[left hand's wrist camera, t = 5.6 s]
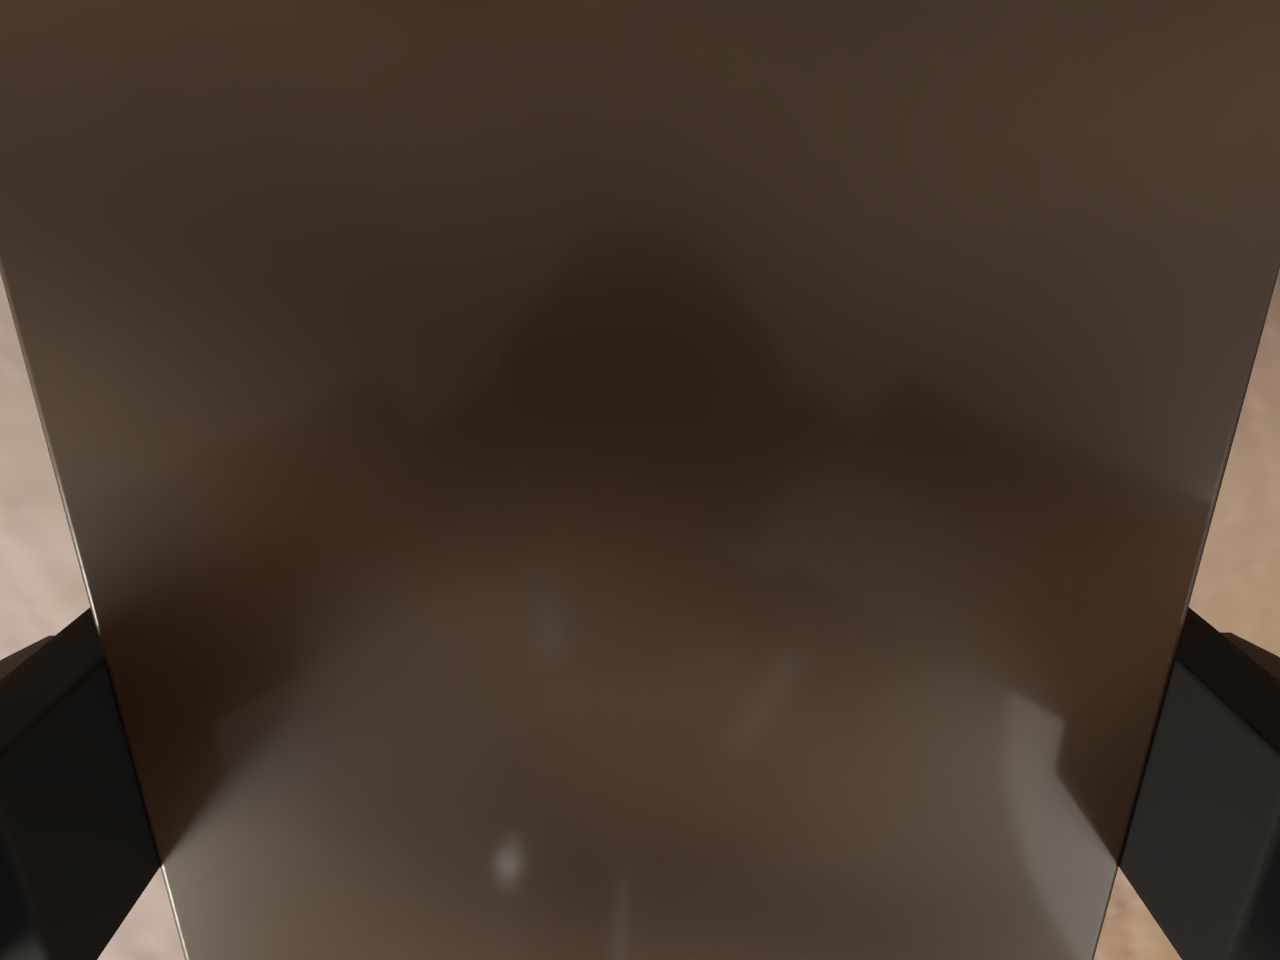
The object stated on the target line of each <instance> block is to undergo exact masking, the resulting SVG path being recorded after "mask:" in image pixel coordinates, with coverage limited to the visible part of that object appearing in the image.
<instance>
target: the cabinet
mask: <svg viewBox="0 0 1280 960" xmlns="http://www.w3.org/2000/svg"><path fill="white" fill-rule="evenodd" d="M1279 268H1280V0H0V272H1V276H2V279H3V283H4V287H5V290H6V294H7V298H8V302H9V305H10V309H11V313H12V317H13V320H14V324H15V328H16V331H17V335H18V339H19V343H20V346H21V350H22V354H23V357H24V361H25V365H26V369H27V372H28V376H29V380H30V383H31V387H32V391H33V395H34V398H35V402H36V406H37V410H38V413H39V417H40V421H41V424H42V428H43V432H44V436H45V439H46V443H47V447H48V450H49V454H50V458H51V462H52V465H53V469H54V473H55V477H56V480H57V484H58V488H59V491H60V495H61V499H62V503H63V506H64V510H65V514H66V517H67V521H68V525H69V529H70V532H71V536H72V540H73V544H74V547H75V551H76V555H77V558H78V562H79V566H80V570H81V573H82V577H83V581H84V584H85V588H86V592H87V596H88V599H89V603H90V607H91V611H92V614H93V618H94V622H95V625H96V629H97V633H98V637H99V640H100V644H101V648H102V651H103V655H104V659H105V663H106V666H107V670H108V674H109V678H110V681H111V685H112V689H113V692H114V696H115V700H116V704H117V707H118V711H119V715H120V718H121V722H122V726H123V730H124V733H125V737H126V741H127V744H128V748H129V752H130V756H131V759H132V763H133V767H134V771H135V774H136V778H137V782H138V785H139V789H140V793H141V797H142V800H143V804H144V808H145V811H146V815H147V819H148V823H149V826H150V830H151V834H152V838H153V841H154V845H155V849H156V852H157V856H158V860H159V864H160V867H161V871H162V875H163V878H164V882H165V886H166V890H167V893H168V897H169V901H170V905H171V908H172V912H173V916H174V919H175V923H176V927H177V931H178V934H179V938H180V942H181V945H182V949H183V953H184V957H185V960H1093V959H1094V955H1095V952H1096V948H1097V944H1098V941H1099V937H1100V933H1101V929H1102V926H1103V922H1104V918H1105V915H1106V911H1107V907H1108V903H1109V900H1110V896H1111V892H1112V889H1113V885H1114V881H1115V877H1116V874H1117V870H1118V866H1119V863H1120V859H1121V855H1122V851H1123V848H1124V844H1125V840H1126V837H1127V833H1128V829H1129V825H1130V822H1131V818H1132V814H1133V811H1134V807H1135V803H1136V799H1137V796H1138V792H1139V788H1140V785H1141V781H1142V777H1143V773H1144V770H1145V766H1146V762H1147V758H1148V755H1149V751H1150V747H1151V744H1152V740H1153V736H1154V732H1155V729H1156V725H1157V721H1158V718H1159V714H1160V710H1161V706H1162V703H1163V699H1164V695H1165V692H1166V688H1167V684H1168V680H1169V677H1170V673H1171V669H1172V666H1173V662H1174V658H1175V654H1176V651H1177V647H1178V643H1179V640H1180V636H1181V632H1182V628H1183V625H1184V621H1185V617H1186V614H1187V610H1188V606H1189V602H1190V599H1191V595H1192V591H1193V588H1194V584H1195V580H1196V576H1197V573H1198V569H1199V565H1200V561H1201V558H1202V554H1203V550H1204V547H1205V543H1206V539H1207V535H1208V532H1209V528H1210V524H1211V521H1212V517H1213V513H1214V509H1215V506H1216V502H1217V498H1218V495H1219V491H1220V487H1221V483H1222V480H1223V476H1224V472H1225V469H1226V465H1227V461H1228V457H1229V454H1230V450H1231V446H1232V443H1233V439H1234V435H1235V431H1236V428H1237V424H1238V420H1239V417H1240V413H1241V409H1242V405H1243V402H1244V398H1245V394H1246V391H1247V387H1248V383H1249V379H1250V376H1251V372H1252V368H1253V365H1254V361H1255V357H1256V353H1257V350H1258V346H1259V342H1260V338H1261V335H1262V331H1263V327H1264V324H1265V320H1266V316H1267V312H1268V309H1269V305H1270V301H1271V298H1272V294H1273V290H1274V286H1275V283H1276V279H1277V275H1278V272H1279Z"/></svg>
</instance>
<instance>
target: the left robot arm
mask: <svg viewBox="0 0 1280 960" xmlns="http://www.w3.org/2000/svg"><path fill="white" fill-rule="evenodd" d="M159 867H160V864H159V860H158V856H157V852H156V849H155V845H154V841H153V838H152V834H151V830H150V826H149V823H148V819H147V815H146V811H145V808H144V804H143V800H142V797H141V793H140V789H139V785H138V782H137V778H136V774H135V771H134V767H133V763H132V759H131V756H130V752H129V748H128V744H127V741H126V737H125V733H124V730H123V726H122V722H121V718H120V715H119V711H118V707H117V704H116V700H115V696H114V692H113V689H112V685H111V681H110V678H109V674H108V670H107V666H106V663H105V659H104V655H103V651H102V648H101V644H100V640H99V637H98V633H97V629H96V625H95V622H94V618H93V614H92V611H91V607H90V608H89V609H88V610H86V611H85V612H84V613H83V614H82V615H80V616H79V617H78V618H77V619H75V620H74V621H73V622H72V623H70V624H69V625H68V626H67V627H66V628H64V629H63V630H62V631H61V632H59V633H58V634H57V635H56V636H48V637H46V638H44V639H42V640H40V641H38V642H36V643H34V644H32V645H30V646H28V647H26V648H24V649H22V650H20V651H18V652H16V653H14V654H12V655H10V656H8V657H6V658H4V659H2V660H1V661H0V960H97V959H98V957H99V956H100V954H101V953H102V951H103V950H104V948H105V947H106V945H107V944H108V943H109V941H110V940H111V938H112V937H113V935H114V934H115V932H116V931H117V929H118V928H119V926H120V925H121V923H122V922H123V920H124V919H125V917H126V916H127V915H128V913H129V912H130V910H131V909H132V907H133V906H134V904H135V903H136V901H137V900H138V898H139V897H140V895H141V894H142V892H143V891H144V890H145V888H146V887H147V885H148V884H149V882H150V881H151V879H152V878H153V876H154V875H155V873H156V872H157V870H158V869H159ZM1119 867H1120V869H1121V870H1122V872H1123V873H1124V875H1125V876H1126V878H1127V879H1128V881H1129V882H1130V883H1131V885H1132V886H1133V888H1134V889H1135V891H1136V892H1137V894H1138V895H1139V897H1140V898H1141V900H1142V901H1143V903H1144V904H1145V906H1146V907H1147V909H1148V910H1149V911H1150V913H1151V914H1152V916H1153V917H1154V919H1155V920H1156V922H1157V923H1158V925H1159V926H1160V928H1161V929H1162V931H1163V932H1164V934H1165V935H1166V936H1167V938H1168V939H1169V941H1170V942H1171V944H1172V945H1173V947H1174V948H1175V950H1176V951H1177V953H1178V954H1179V956H1180V957H1181V959H1182V960H1280V658H1279V657H1278V656H1276V655H1274V654H1272V653H1270V652H1268V651H1266V650H1264V649H1262V648H1260V647H1258V646H1256V645H1254V644H1252V643H1250V642H1248V641H1246V640H1244V639H1242V638H1240V637H1238V636H1236V635H1234V634H1232V633H1220V632H1218V631H1217V630H1216V629H1215V628H1214V627H1212V626H1211V625H1210V624H1209V623H1207V622H1206V621H1205V620H1204V619H1202V618H1201V617H1200V616H1199V615H1198V614H1196V613H1195V612H1194V611H1193V610H1191V609H1190V608H1189V607H1188V610H1187V614H1186V617H1185V621H1184V625H1183V628H1182V632H1181V636H1180V640H1179V643H1178V647H1177V651H1176V654H1175V658H1174V662H1173V666H1172V669H1171V673H1170V677H1169V680H1168V684H1167V688H1166V692H1165V695H1164V699H1163V703H1162V706H1161V710H1160V714H1159V718H1158V721H1157V725H1156V729H1155V732H1154V736H1153V740H1152V744H1151V747H1150V751H1149V755H1148V758H1147V762H1146V766H1145V770H1144V773H1143V777H1142V781H1141V785H1140V788H1139V792H1138V796H1137V799H1136V803H1135V807H1134V811H1133V814H1132V818H1131V822H1130V825H1129V829H1128V833H1127V837H1126V840H1125V844H1124V848H1123V851H1122V855H1121V859H1120V863H1119Z"/></svg>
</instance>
